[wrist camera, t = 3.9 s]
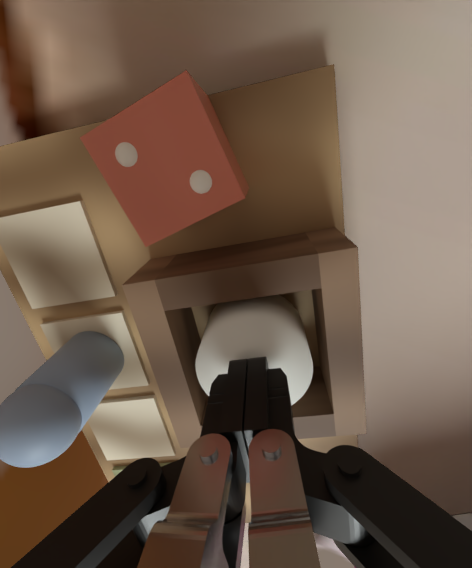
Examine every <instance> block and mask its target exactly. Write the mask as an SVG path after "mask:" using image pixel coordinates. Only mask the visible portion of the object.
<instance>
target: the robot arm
mask: <svg viewBox="0 0 472 568" xmlns="http://www.w3.org/2000/svg"><path fill="white" fill-rule="evenodd" d="M207 403H208V405H207V407H206V411H205V416H204V421H203V425H202V430H201V435H200V438H198V439H197V440H196V441H195V442H194V443H193V444H192V445H191V446H190V448H189V450H188V452H187V455H186V456H185V457H183V458H181V459H179V460H177V461H174V462H172V463H169V464H167V465H164V466H160V464H159V463H158V461H156V460H155V459H153V458H141V459H138V460H136V461H134V462H132V463H131V464H129V465H128V466H127V467H126V468H124V469H123V470H122V471H121V472H120V473H119V474H118V475H116V476H115V477H114V478H113V479H112V480H111V481H110V482H108V483H107V484H106V485H105V486H104V487H103V488H102V489H100V490H99V491H98V492H97V493H96V494H95V495H94V496H92V497H91V498H90V499H89V500H88V501H87V502H86V503H84V504H83V505H82V506H81V507H80V508H79V509H78V510H76V511H75V512H74V513H73V514H72V515H71V516H70V517H68V518H67V519H66V520H65V521H64V522H63V523H61V524H60V525H59V526H58V527H57V528H56V529H55V530H53V531H52V532H51V533H50V534H49V535H48V536H47V537H45V538H44V539H43V540H42V541H41V542H40V543H39V544H38V545H36V546H35V547H34V548H33V549H32V550H31V551H30V552H28V553H27V554H26V555H25V556H24V557H23V558H21V559H20V560H19V561H18V562H17V563H16V564H15V565H13V566H12V567H11V568H240V564H241V555H242V546H243V537H244V527H245V518H246V501H245V496H246V483H250V497H251V522H249V528H248V540H249V568H321V567H320V562H319V558H318V553H317V548H316V543H315V538H314V533H317V534H320V535H323V536H326V537H328V538H331V539H333V540H334V542H335V544H336V545H337V547H338V548H339V549H340V550H341V551H342V553H343V554H344V555H345V556H346V557H347V558H348V559H349V560H350V562H351V563H352V564H353V565H354V566H355V567H356V568H472V531H471V530H470V529H468V528H467V527H466V526H464V525H463V524H462V523H460V522H459V521H458V520H456V519H455V518H454V517H452V516H451V515H450V514H448V513H447V512H446V511H444V510H443V509H442V508H440V507H439V506H438V505H436V504H435V503H434V502H432V501H431V500H429V499H428V498H427V497H425V496H424V495H423V494H421V493H420V492H419V491H417V490H416V489H415V488H413V487H412V486H411V485H409V484H408V483H407V482H405V481H404V480H403V479H401V478H400V477H399V476H397V475H396V474H395V473H393V472H392V471H391V470H389V469H388V468H387V467H385V466H384V465H383V464H381V463H380V462H379V461H377V460H376V459H374V458H373V457H372V456H370V455H369V454H368V453H366V452H365V451H363V450H362V449H360V448H358V447H355V446H351V445H339V446H336V447H334V448H332V449H330V450H329V451H328V452H327V453H323V452H318V451H315V450H311V449H309V448H307V447H305V446H304V445H303V444H301V443H300V442H299V441H298V439H297V438H296V436H295V430H294V422H293V414H292V406H291V400H290V393H289V387H288V381H287V376H286V374H285V373H284V372H283V371H282V369H281V368H274V369H269V368H268V362H267V358H266V356H265V357H256V358H249V359H239V360H231V361H229V367H228V373H227V374H219V375H218V376H217V377H216V378H215V380H214V381H213V382H212V384H211V388H210V393H209V398H208V402H207ZM313 532H314V533H313Z"/></svg>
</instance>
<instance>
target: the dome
mask: <svg viewBox="0 0 472 568" xmlns="http://www.w3.org/2000/svg"><path fill="white" fill-rule="evenodd" d="M265 356H266V358H267V362H268V368H269V369H274V368H281V369H282V371H283V372H284V373H285V374H286V376H287V381H288V387H289V393H290V400H291V405H293V404H295V403H296V402H297V401H298V400H299V399H300V398H301V397H302V396H303V395H304V394H305V392H306V391H307V389H308V387H309V385H310V383H311V380H312V376H313V362H312V357H311V354H310V350H309V346H308V342H307V338H306V334H305V330H304V327H303V323H302V320H301V317H300V315H299V313H298V311H297V310H296V309H295V307H294V306H293V305H292V304H291V303H290V302H289V301H288V300H286V299H285V298H284V297H282V296H280V295H271V296H264V297H257V298H250V299H244V300H237V301H230V302H223V303H218V304H217V305H216V306H215V308H214V309H213V311H212V312H211V314H210V316H209V319H208V322H207V325H206V328H205V331H204V334H203V337H202V341H201V344H200V347H199V350H198V353H197V357H196V364H195V366H196V374H197V378H198V381H199V383H200V385H201V387H202V389H203V390H204V391H205V393H206V394H207V395H208V396H209V393H210V388H211V384H212V382H213V381H214V380H215V378H216V377H217V376H218V375H219V374H227V373H228V367H229V361H231V360H239V359H249V358H256V357H265Z"/></svg>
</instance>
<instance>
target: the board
mask: <svg viewBox="0 0 472 568" xmlns="http://www.w3.org/2000/svg"><path fill="white" fill-rule="evenodd" d="M207 96H208V97H209V99H210V102H211V104H212V106H213V108H214V111H215V113H216V115H217V117H218V119H219V122H220V124H221V126H222V128H223V131H224V133H225V135H226V137H227V139H228V142H229V144H230V146H231V148H232V151H233V153H234V155H235V157H236V159H237V162H238V164H239V166H240V168H241V171H242V173H243V175H244V177H245V179H246V182H247V184H248V186H249V190H248V192H247V195H246V197H245V198H244V199H242V200H240V201H238V202H236V203H234V204H232V205H230V206H228V207H226V208H224V209H222V210H220V211H218V212H216V213H214V214H212V215H210V216H208V217H206V218H204V219H202V220H200V221H198V222H196V223H194V224H192V225H190V226H188V227H186V228H184V229H182V230H180V231H178V232H176V233H174V234H172V235H170V236H168V237H166V238H164V239H161V240H159V241H157V242H155V243H153V244H151V245H149V246H147V247H145V245H144V243H143V242H142V240H141V238H140V237H139V235H138V233H137V232H136V230H135V229H134V227H133V225H132V224H131V222H130V220H129V219H128V217H127V215H126V214H125V212H124V210H123V209H122V207H121V205H120V204H119V202H118V200H117V199H116V197H115V195H114V194H113V192H112V190H111V189H110V187H109V185H108V184H107V182H106V180H105V179H104V177H103V176H102V174H101V172H100V171H99V169H98V167H97V166H96V164H95V162H94V161H93V159H92V157H91V156H90V154H89V152H88V151H87V149H86V147H85V146H84V144H83V142H82V141H81V139H80V137H82V136H83V135H85V134H86V133H88V132H89V131H91V130H93V129H94V128H96V127H97V126H99V125H101V124H102V123H104V122H105V121H107V120H105V121H101V122H97V123H93V124H89V125H85V126H81V127H77V128H72V129H68V130H64V131H60V132H56V133H52V134H48V135H44V136H40V137H36V138H32V139H28V140H24V141H20V142H16V143H11V144H7V145H3V146H0V270H1V272H2V274H3V276H4V278H5V280H6V282H7V284H8V286H9V288H10V290H11V292H12V294H13V296H14V298H15V299H16V301H17V303H18V305H19V307H20V309H21V311H22V313H23V315H24V317H25V319H26V321H27V323H28V325H29V327H30V329H31V331H32V333H33V335H34V337H35V339H36V341H37V343H38V345H39V347H40V349H41V350H42V352H43V354H44V356H45V358H46V360H48V359H49V358H50V357H52V356H53V355H54V354H55V353H56V352H57V351H58V350H59V349H60V348H61V347H62V346H63V345H65V344H66V343H67V342H68V341H69V340H70V339H71V338H72V337H73V336H75V335H76V334H78V333H80V332H84V331H94V332H98V333H101V334H104V335H106V336H108V337H109V338H111V339H112V340H113V341H114V342H115V343H116V344H117V345H118V346H119V347H120V349H121V351H122V353H123V356H124V366H123V369H122V371H121V372H120V374H119V375H118V377H117V378H116V380H115V381H114V383H113V384H112V386H111V387H110V388H109V390H108V391H107V393H106V394H105V396H104V397H103V399H102V400H101V402H100V403H99V405H98V406H97V408H96V409H95V411H94V412H93V413H92V415H91V416H90V418H89V419H88V421H87V422H86V424H85V425H84V427H83V428H82V431H83V433H84V435H85V437H86V439H87V441H88V443H89V445H90V447H91V449H92V450H93V452H94V454H95V456H96V458H97V460H98V462H99V464H100V466H101V468H102V470H103V472H104V474H105V476H106V478H107V480H108V482H110V481H111V480H112V479H113V478H114V477H115V476H116V475H118V474H119V473H120V472H121V471H122V470H123V469H124V468H126V467H127V466H128V465H129V464H131V463H132V462H134V461H136V460H138V459H141V458H153V459H155V460H156V461H158V463H159V464H160V466H164V465H167V464H169V463H172V462H174V461H177V460H179V459H181V458H183V457H185V456H186V455H187V452H188V450H189V448H190V446H191V445H192V444H193V443H194V442H195V441H196V440H197V439H198V438H200V435H201V430H202V425H203V421H204V416H205V411H206V407H207V405H208V403H207V402H208V398H209V396H208V395H207V394H206V393H205V391H204V390H203V389H202V387H201V385H200V383H199V381H198V378H197V374H196V366H195V364H196V357H197V353H198V350H199V347H200V344H201V341H202V337H203V334H204V331H205V328H206V325H207V322H208V319H209V316H210V314H211V312H212V311H213V309H214V308H215V306H216V305H217V304H218V303H223V302H230V301H237V300H244V299H250V298H257V297H264V296H271V295H280V296H282V297H284V298H285V299H286V300H288V301H289V302H290V303H291V304H292V305H293V306H294V307H295V309H296V310H297V311H298V313H299V315H300V317H301V320H302V323H303V327H304V330H305V334H306V338H307V342H308V346H309V350H310V354H311V357H312V362H313V376H312V380H311V383H310V385H309V387H308V389H307V391H306V392H305V394H304V395H303V396H302V397H301V398H300V399H299V400H298V401H297V402H296V403H295V404H293V405H291V406H292V414H293V422H294V430H295V436H296V438H297V439H298V441H299V442H300V443H301V444H303V445H304V446H305V447H307V448H309V449H311V450H315V451H318V452H323V453H327V452H328V451H329V450H330V449H332V448H334V447H336V446H339V445H351V446H355V447H358V439H357V435H359V434H366V413H365V392H364V370H363V349H362V328H361V307H360V286H359V265H358V247H357V246H356V245H355V244H353V243H352V242H351V241H350V240H349V239H348V238H347V237H346V236H345V231H344V215H343V199H342V183H341V167H340V151H339V135H338V119H337V103H336V87H335V71H334V64H333V65H329V66H325V67H321V68H317V69H312V70H308V71H304V72H300V73H296V74H292V75H288V76H284V77H280V78H276V79H272V80H268V81H264V82H260V83H256V84H251V85H247V86H243V87H239V88H235V89H231V90H227V91H223V92H219V93H215V94H211V95H207ZM245 501H246V518H245V523H249V522H251V497H250V483H246V496H245Z"/></svg>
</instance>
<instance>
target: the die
mask: <svg viewBox="0 0 472 568" xmlns="http://www.w3.org/2000/svg"><path fill="white" fill-rule="evenodd" d="M80 139H81V141H82V142H83V144H84V146H85V147H86V149H87V151H88V152H89V154H90V156H91V157H92V159H93V161H94V162H95V164H96V166H97V167H98V169H99V171H100V172H101V174H102V176H103V177H104V179H105V180H106V182H107V184H108V185H109V187H110V189H111V190H112V192H113V194H114V195H115V197H116V199H117V200H118V202H119V204H120V205H121V207H122V209H123V210H124V212H125V214H126V215H127V217H128V219H129V220H130V222H131V224H132V225H133V227H134V229H135V230H136V232H137V233H138V235H139V237H140V238H141V240H142V242H143V243H144V245H145V247H147V246H149V245H151V244H153V243H155V242H157V241H159V240H161V239H164V238H166V237H168V236H170V235H172V234H174V233H176V232H178V231H180V230H182V229H184V228H186V227H188V226H190V225H192V224H194V223H196V222H198V221H200V220H202V219H204V218H206V217H208V216H210V215H212V214H214V213H216V212H218V211H220V210H222V209H224V208H226V207H228V206H230V205H232V204H234V203H236V202H238V201H240V200H242V199H244V198H245V197H246V195H247V192H248V190H249V186H248V184H247V182H246V179H245V177H244V175H243V173H242V171H241V168H240V166H239V164H238V162H237V159H236V157H235V155H234V153H233V151H232V148H231V146H230V144H229V142H228V139H227V137H226V135H225V133H224V131H223V128H222V126H221V124H220V122H219V119H218V117H217V115H216V113H215V111H214V108H213V106H212V104H211V102H210V99H209V97H208V96H207V95H206V93H205V92H204V91H203V90H202V88H201V87H200V86H199V85H198V84H197V82H196V81H195V80H194V79H193V78H192V76H191V75H190V74H189V73H188V72H187V70H186V71H184V72H183V73H181V74H180V75H178V76H176V77H175V78H173V79H172V80H170V81H168V82H167V83H165V84H164V85H162V86H161V87H159V88H157V89H156V90H154V91H153V92H151V93H150V94H148V95H146V96H145V97H143V98H142V99H140V100H138V101H137V102H135V103H134V104H132V105H131V106H129V107H127V108H126V109H124V110H123V111H121V112H120V113H118V114H116V115H115V116H113V117H112V118H110V119H108V120H107V121H105V122H104V123H102V124H101V125H99V126H97V127H96V128H94V129H93V130H91V131H89V132H88V133H86V134H85V135H83V136H82V137H80Z"/></svg>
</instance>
